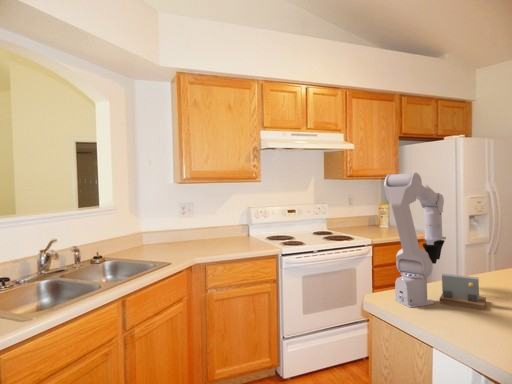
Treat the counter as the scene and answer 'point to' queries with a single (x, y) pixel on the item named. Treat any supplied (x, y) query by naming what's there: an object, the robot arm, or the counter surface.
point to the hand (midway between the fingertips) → (434, 261)
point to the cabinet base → (464, 302)
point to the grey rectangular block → (460, 285)
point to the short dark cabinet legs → (470, 297)
